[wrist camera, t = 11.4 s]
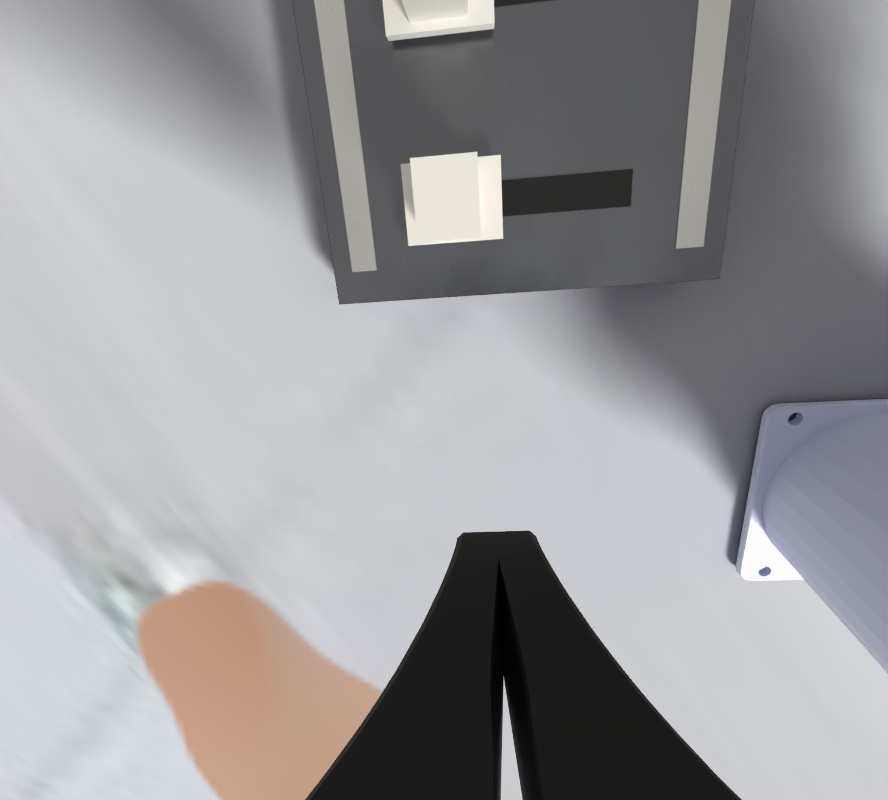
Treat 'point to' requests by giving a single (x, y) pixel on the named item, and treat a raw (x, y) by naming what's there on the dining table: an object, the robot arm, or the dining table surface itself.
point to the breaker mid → (436, 17)
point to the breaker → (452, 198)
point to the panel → (531, 141)
